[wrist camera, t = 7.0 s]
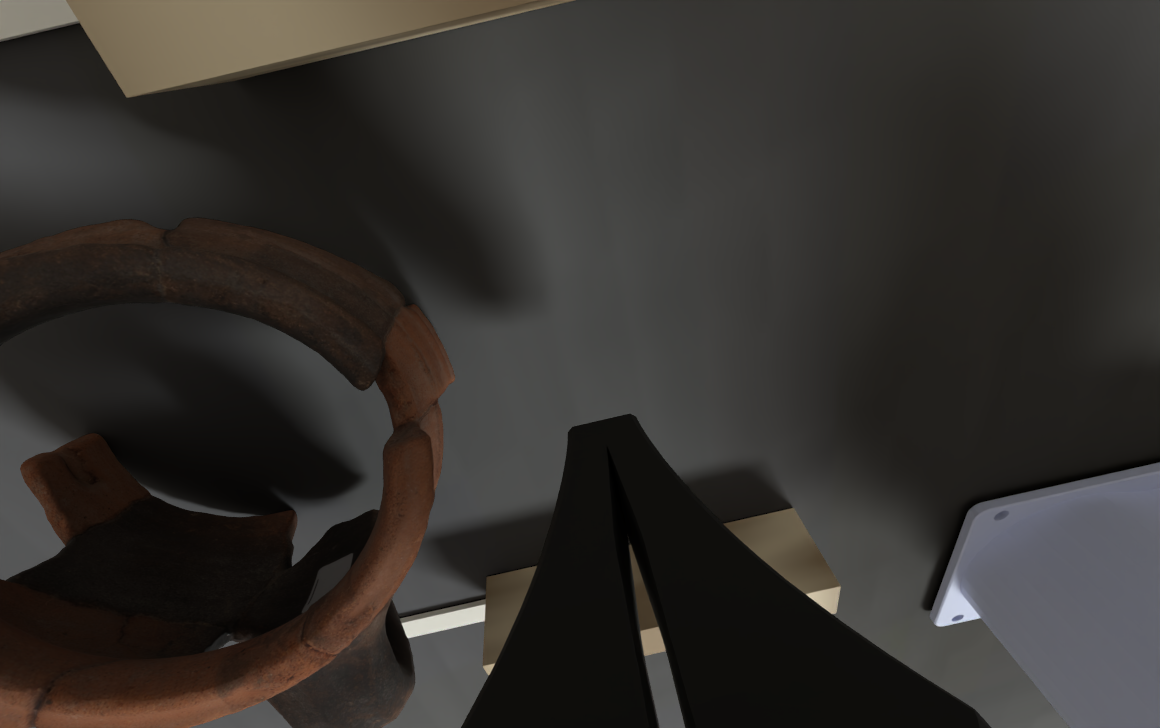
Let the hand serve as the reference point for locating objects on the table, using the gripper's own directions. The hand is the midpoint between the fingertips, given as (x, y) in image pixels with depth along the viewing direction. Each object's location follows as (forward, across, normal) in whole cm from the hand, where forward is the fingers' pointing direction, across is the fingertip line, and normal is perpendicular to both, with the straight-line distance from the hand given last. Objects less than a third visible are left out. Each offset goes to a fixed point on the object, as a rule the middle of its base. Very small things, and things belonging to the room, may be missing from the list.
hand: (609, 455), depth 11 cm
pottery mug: (+4, +8, 0) cm, 9 cm away
